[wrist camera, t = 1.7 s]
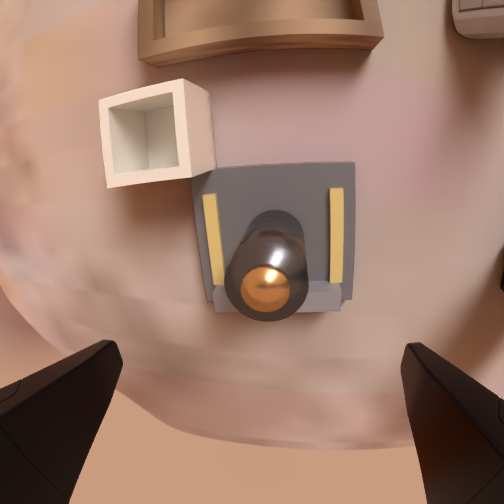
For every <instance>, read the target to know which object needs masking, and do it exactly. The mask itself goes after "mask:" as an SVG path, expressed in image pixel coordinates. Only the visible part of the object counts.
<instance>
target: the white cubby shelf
mask: <svg viewBox="0 0 504 504" xmlns="http://www.w3.org/2000/svg"><path fill="white" fill-rule="evenodd" d="M99 114H100V128H101V139H102V149H103V158H104V166H105V174H106V181H107V188H113V187H119V186H126V185H133V184H140V183H148V182H155V181H163V180H172V179H181V178H190V177H194V176H197V175H199V174H202V173H205V172H207V171H210V170H213V169H215V168H217V167H216V156H215V145H214V134H213V123H212V111H211V98H210V92H208V91H206V90H204V89H203V88H201V87H199V86H197V85H195V84H193V83H191V82H189V81H188V80H186V79H184V78H182V79H177V80H172V81H168V82H163V83H159V84H155V85H150V86H146V87H142V88H139V89H135V90H131V91H127V92H124V93H120V94H117V95H114V96H110V97H107V98H104V99H101V100H99Z"/></svg>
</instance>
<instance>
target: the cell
mask: <svg viewBox="0 0 504 504" xmlns="http://www.w3.org/2000/svg"><path fill="white" fill-rule="evenodd" d="M224 287H225V292H226V294H227V297H228V299H229V301H230V302H231V304H232V305H233V306H234V307H235V308H236V309H237V310H238V311H239V312H241V313H242V314H243V315H245V316H247V317H249V318H252V319H255V320H259V321H277V320H281V319H284V318H287V317H289V316H291V315H292V314H294V313H295V312H296V311H297V310H298V309H299V308H300V307H301V306H302V305H303V303H304V301H305V300H306V297H307V294H308V290H309V280H308V269H307V258H306V248H305V239H304V232H303V228H302V226H301V224H300V223H299V221H298V220H297V219H296V218H295V217H294V216H293V215H291V214H290V213H288V212H285V211H282V210H268V211H264V212H262V213H260V214H258V215H257V216H256V217H255V218H254V219H253V220H252V221H251V223H250V224H249V226H248V228H247V230H246V232H245V234H244V236H243V238H242V240H241V242H240V244H239V246H238V248H237V249H236V251H235V253H234V255H233V257H232V259H231V261H230V263H229V265H228V267H227V269H226V272H225V277H224Z"/></svg>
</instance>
